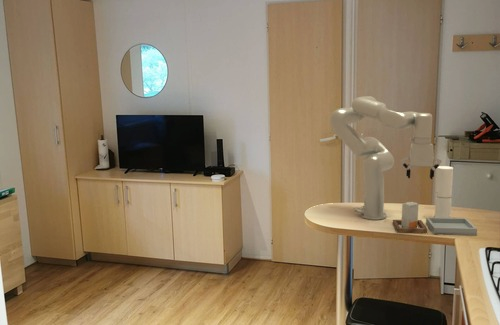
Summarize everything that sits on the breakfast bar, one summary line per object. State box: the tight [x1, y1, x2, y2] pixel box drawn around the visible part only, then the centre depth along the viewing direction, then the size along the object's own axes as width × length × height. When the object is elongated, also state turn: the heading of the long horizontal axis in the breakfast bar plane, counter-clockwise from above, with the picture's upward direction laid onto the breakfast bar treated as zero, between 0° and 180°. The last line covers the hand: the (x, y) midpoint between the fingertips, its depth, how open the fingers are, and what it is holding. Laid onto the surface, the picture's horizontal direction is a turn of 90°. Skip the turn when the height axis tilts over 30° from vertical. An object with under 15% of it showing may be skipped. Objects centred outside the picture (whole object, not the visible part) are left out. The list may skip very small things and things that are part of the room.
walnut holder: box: [392, 219, 429, 234], centre depth 219 cm, size 13×13×2 cm
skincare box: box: [400, 201, 419, 228], centre depth 218 cm, size 6×4×12 cm
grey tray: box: [425, 217, 478, 236], centre depth 217 cm, size 18×15×3 cm
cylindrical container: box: [434, 165, 454, 218], centre depth 231 cm, size 7×7×25 cm
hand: (419, 178), depth 217 cm, fingers open, 9 cm apart
